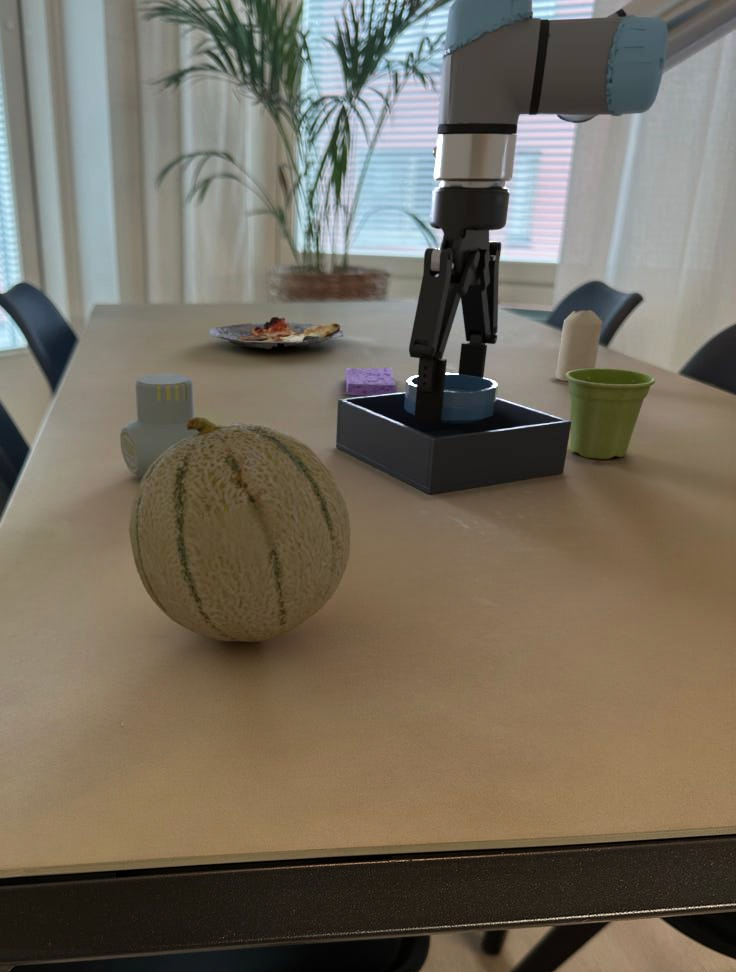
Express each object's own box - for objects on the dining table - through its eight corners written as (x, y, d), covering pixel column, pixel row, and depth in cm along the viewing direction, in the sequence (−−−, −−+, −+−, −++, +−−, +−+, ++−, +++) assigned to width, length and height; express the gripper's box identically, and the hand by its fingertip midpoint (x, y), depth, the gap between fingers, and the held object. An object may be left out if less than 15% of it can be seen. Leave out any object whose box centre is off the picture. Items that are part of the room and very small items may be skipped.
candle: (587, 384, 138) (598, 314, 133) (550, 379, 140) (560, 311, 136) (596, 377, 142) (608, 310, 137) (561, 373, 144) (571, 307, 140)
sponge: (346, 396, 130) (347, 383, 129) (345, 378, 141) (346, 366, 140) (395, 397, 130) (396, 384, 129) (390, 379, 141) (391, 366, 140)
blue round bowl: (511, 420, 98) (516, 387, 96) (437, 429, 94) (440, 395, 92) (458, 401, 105) (461, 370, 104) (387, 409, 102) (390, 377, 100)
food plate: (281, 329, 184) (281, 311, 183) (368, 344, 169) (369, 324, 168) (184, 343, 169) (184, 323, 168) (270, 361, 154) (270, 339, 153)
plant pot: (550, 459, 102) (562, 380, 98) (558, 438, 110) (569, 365, 106) (639, 468, 99) (655, 387, 95) (640, 446, 107) (655, 371, 103)
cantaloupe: (361, 677, 59) (375, 448, 52) (132, 686, 58) (115, 453, 51) (327, 584, 72) (335, 391, 65) (140, 590, 71) (127, 395, 64)
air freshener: (118, 464, 100) (111, 372, 96) (189, 456, 103) (186, 366, 99) (144, 493, 92) (138, 393, 87) (222, 484, 94) (220, 386, 90)
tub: (563, 473, 98) (571, 421, 95) (429, 494, 91) (434, 439, 89) (456, 431, 113) (461, 385, 110) (335, 447, 107) (337, 399, 104)
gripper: (480, 183, 99) (458, 389, 110) (383, 185, 83) (368, 428, 93) (547, 184, 96) (518, 398, 106) (459, 187, 79) (435, 439, 90)
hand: (448, 412), depth 100 cm, fingers closed on blue round bowl, 10 cm apart
